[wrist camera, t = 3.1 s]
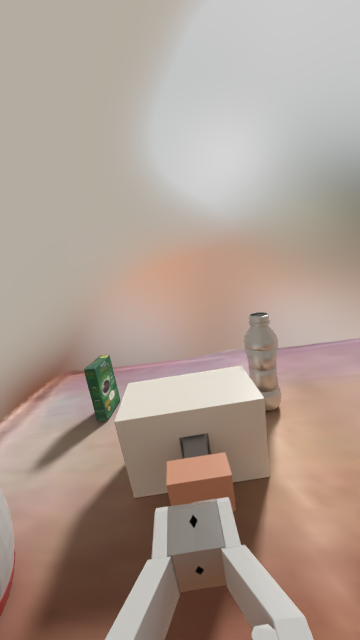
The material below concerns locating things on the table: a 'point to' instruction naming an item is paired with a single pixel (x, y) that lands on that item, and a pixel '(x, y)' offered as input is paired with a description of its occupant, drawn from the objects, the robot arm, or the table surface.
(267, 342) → the plastic bottle
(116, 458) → the table surface
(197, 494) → the key
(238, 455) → the box
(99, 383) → the coffee box
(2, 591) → the citrus juicer
